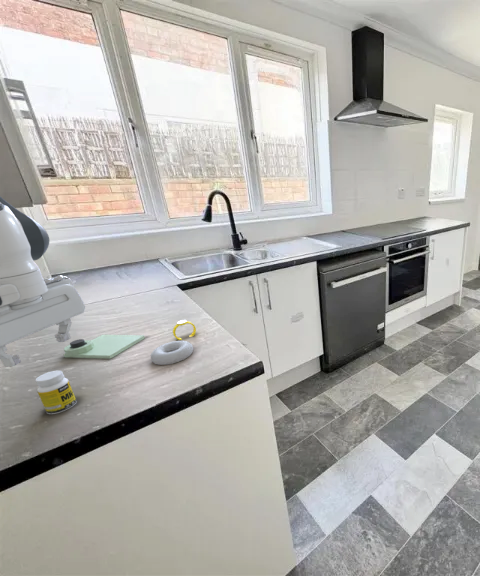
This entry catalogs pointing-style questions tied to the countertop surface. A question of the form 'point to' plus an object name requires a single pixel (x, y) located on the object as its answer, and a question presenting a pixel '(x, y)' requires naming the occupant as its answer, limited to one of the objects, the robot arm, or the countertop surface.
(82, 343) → the button
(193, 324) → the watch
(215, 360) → the countertop surface
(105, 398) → the countertop surface
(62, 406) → the supplement bottle
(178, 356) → the donut
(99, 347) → the scale
